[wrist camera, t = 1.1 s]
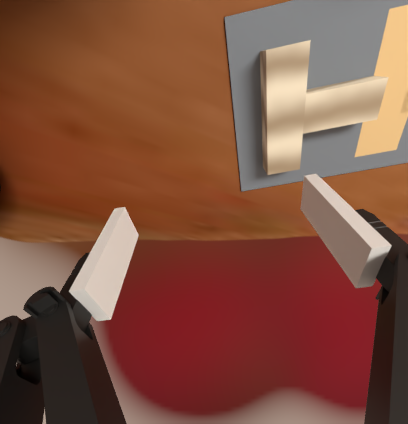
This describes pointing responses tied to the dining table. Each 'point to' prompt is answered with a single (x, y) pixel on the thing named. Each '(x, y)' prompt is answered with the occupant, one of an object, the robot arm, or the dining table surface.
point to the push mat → (323, 82)
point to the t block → (306, 104)
